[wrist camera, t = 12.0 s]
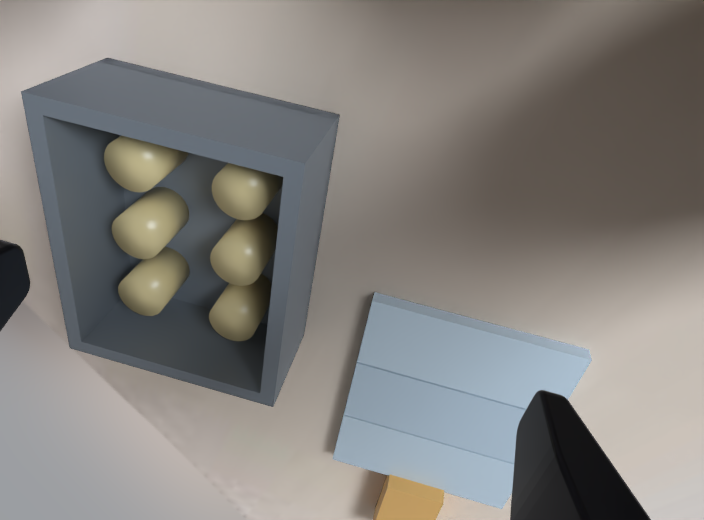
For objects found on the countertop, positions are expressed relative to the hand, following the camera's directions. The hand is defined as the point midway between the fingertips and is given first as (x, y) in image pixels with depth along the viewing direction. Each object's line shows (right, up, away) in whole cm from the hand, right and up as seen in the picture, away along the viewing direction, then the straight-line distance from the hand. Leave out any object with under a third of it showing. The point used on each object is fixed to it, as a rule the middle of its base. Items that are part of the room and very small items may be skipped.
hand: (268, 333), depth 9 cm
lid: (+6, -8, +19) cm, 21 cm away
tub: (-4, +3, +14) cm, 15 cm away
